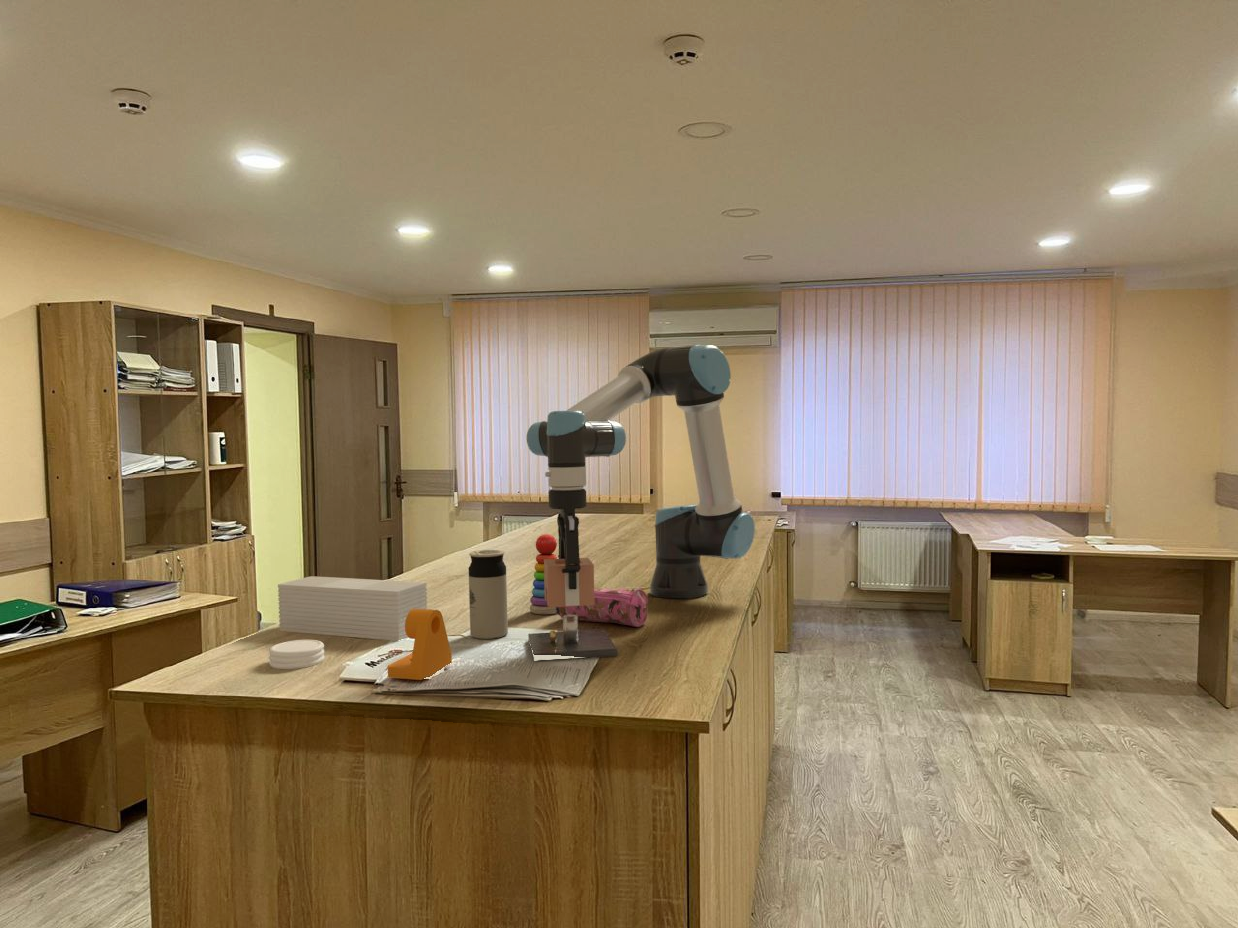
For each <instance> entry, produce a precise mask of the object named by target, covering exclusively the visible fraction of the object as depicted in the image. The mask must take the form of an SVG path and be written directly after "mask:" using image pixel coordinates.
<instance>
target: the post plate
mask: <svg viewBox="0 0 1238 928" xmlns="http://www.w3.org/2000/svg"><path fill="white" fill-rule="evenodd" d="M529 642H530V644H531V648H532V650H533V654H534V655H561V656H574V657H597V658H607V657H618V649H617V647H616V645H615V643H614V642H613V641H612V639H611V637H610V636H609V634H608V633H607V631H606V630H605V629H604V628H602V629H587V630H585V629H584V630H579V621H578V616H577V615H564V616H563V618H562V631H557V630H553V629H552V630H550V631H548V632H537V633H528V643H529ZM530 644H529V645H530ZM531 648H530V649H531Z"/></svg>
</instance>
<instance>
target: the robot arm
mask: <svg viewBox="0 0 1238 928" xmlns="http://www.w3.org/2000/svg"><path fill="white" fill-rule="evenodd" d="M731 373H732V372H731V367H730V363H729V361H728V359H727V357H726V355H725V354H724V352H723V351H722V350H721V349H720V348H719V347H718V346H715V345H711V344H705V345H704V344H692V345H684V346H676V347H665V348H659V349H656V350H653V351H650V352H649V353H647V354H645V355H643V356H640V357H639V358H638V359H636V360H635V359H634V361H632V362H629V364H627V365H626V366H625V367H623V368H621V370H620V371H619V372H618V374H617V376H616V377H615V378H613V379H612V380H610V381H609V382H608V383H606V384H605V385H603V386H601V387H600V388H598V389H597V390H595V391H594V392H592V393H591V394H589V395H588V396H586V397H584V398H583V399H582V400H580V401H579V402H577V403H576V404H574V405H573V406H571V407H570V408H567V410H553V411H550V412H549V413H548V415H547V421H546V420H543V421H542V420H541V421H538V422H534V423H532V424H531V425H530V427H529V428H528V430H527V433H526V444H527V447H528V449H529V451H530V452H531V453H532V454H534V455H536V456H542V457H546V458H547V463H548V464H547V467H548V468H547V469H548V471H546V472H545V473H544V476H545V477H547V478H548V479H547V480H548V486H549V487H550V488H551V489H549V491H548V507H549V508H550V509H553V510H560V512H558V513H557V518H556V519H557V521H556V524H557V526H558V528H557V533H558V555H557V556H558V557H557V559H565V567H566V568H565V569H562V573H565V606H577V605H580V603H579V570H580V559H579V558H580V544H579V541H580V540H579V536H580V535H579V532H580V531H579V525H580V519H579V517H577V515H576V509H579V510H580V509H584V508H586V506H587V490H586V488H584V487H586V486H587V466H586V465H587V464H586V458H596V457H598V458H599V457H600V458H601V457H604V458H605V457H606V458H607V457H610V456H615V455H618V454H620V453H621V452H622V451H623V449H624V448H625V445H626V441H627V436H626V430H625V429H624V427H623V425H621V423H619V422H618V421H616V420H612V419H614V418H616V417H617V416H618V415H620V414H621V413H622V412H624V411H626V410H627V409H628V408H630V407H631V406H632V405H634V404H641V403H644V402H645V401H647V400H649V399H651V398H655V397H664V396H669V397H670V396H675V402H676V406H677V407H678V408H679V409H681V410H683V412H684V417H685V424H686V429H687V435H688V440H689V447H690V453H691V458H692V465H693V469H694V475H695V480H696V481H695V482H696V486H697V487H696V488H697V493H698V498H699V503H698V504H697V503H695V504H688V505H687V504H685V505H678V506H671V507H663V508H660V509H658V510H656V513H655V524H654V527H655V555H656V556H655V559H656V560H655V561H656V563H655V568H654V572H653V575H652V578H651V580H650V581H651V582H650V585H649V588H650V589H649V594H650V595H651V596H653V597H657V598H663V599H693V598H698V597H704V596H706V595H707V594H708V593H707V592H708V591H709V590H708V589H709V588H708V582H707V579H706V576H705V573H704V570H703V567H702V563H701V557H710V558H719V559H724V560H728V559H741V558H743V557H744V556H745V555H747V553H748V552H749V551H750V549H751V547H752V543H753V541H754V538H755V537H754V536H755V529H756V528H755V527H756V526H755V520H754V518H753V517H752V515H751V513H748V512H746V511H744V512H743V507H742V502H741V501H740V500H739V499H737V497H735V495H734V489H733V483H732V476H731V469H730V464H729V459H728V451H727V446H726V440H725V439H726V438H725V433H724V427H723V420H722V415H721V409H720V404H721V403H722V402H723V400H724V398H725V392H726V391H727V390H728V389H729V387H730V384H731V377H732V376H731V375H732V374H731ZM570 564H572V565H570ZM705 594H706V595H705ZM703 595H704V596H703Z"/></svg>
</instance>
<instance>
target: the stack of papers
mask: <svg viewBox="0 0 1238 928" xmlns="http://www.w3.org/2000/svg"><path fill="white" fill-rule="evenodd" d="M427 585H428V584H427V582H426V581H425V582H422V581H406V580H389V579H387V580H386V579H368V578H367V579H366V578H353V577H352V578H350V577H349V578H348V577H332V576H331V577H330V576H306V577H302V578H298V579H294V580H291V581H286V582H283V583H277V589H278V590H277V596H278V614H279V615H278V618H279V624H278V625H279V631H280V632H289V633H290V632H291V633H303V634H313V635H325V636H326V635H327V636H336V637H337V636H338V637H350V638H361V639H372V640H384V641H396V642H399V641H398V640H400V641H402V640H401V639H403V640H405V639H408V638H409V637H408V636H407V634H406V631H405V621H406V617H407V615H408V613H409V611H410V610H412V609H428V600H427V599H428V596H427V595H428V588H427Z"/></svg>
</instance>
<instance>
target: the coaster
mask: <svg viewBox="0 0 1238 928" xmlns="http://www.w3.org/2000/svg"><path fill="white" fill-rule="evenodd" d="M324 648H325V644H324V643H323V642H322V641H320V640H316V639H296V640H288V641H285V642H280V643H277V644H275V645H272V646H271V647H270V648H269V650H268V652H269V653H268V654H269V656H268V659H269V667H271V668H273V669H276V670H277V669H278V670H297V669H305V668H308V667H313V666H316V665H318V664H322V662H323V661H324V660H325V658H326V657H325V649H324Z"/></svg>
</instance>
